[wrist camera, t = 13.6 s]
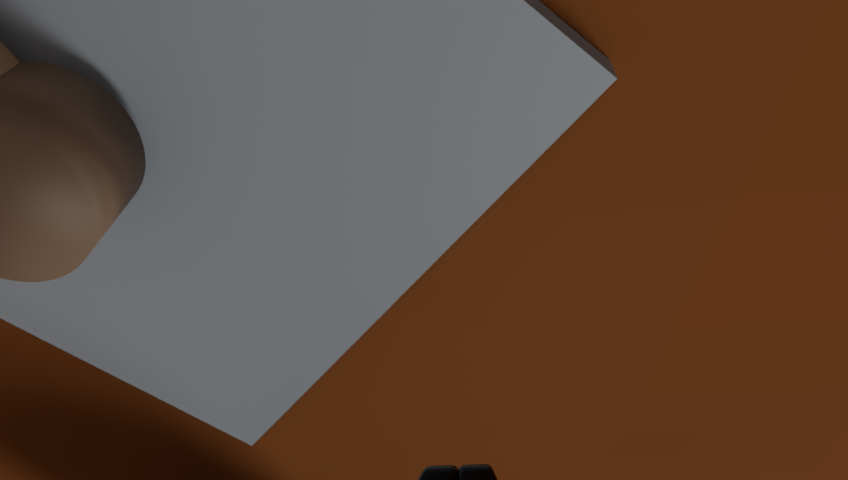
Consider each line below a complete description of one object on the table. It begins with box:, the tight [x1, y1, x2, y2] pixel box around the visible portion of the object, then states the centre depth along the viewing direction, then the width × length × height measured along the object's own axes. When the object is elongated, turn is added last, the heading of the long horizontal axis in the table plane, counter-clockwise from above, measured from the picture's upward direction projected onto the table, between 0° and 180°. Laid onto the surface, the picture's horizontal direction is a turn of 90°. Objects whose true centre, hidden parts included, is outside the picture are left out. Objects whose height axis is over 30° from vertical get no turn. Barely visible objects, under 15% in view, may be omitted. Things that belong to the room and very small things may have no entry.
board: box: [0, 0, 617, 446], centre depth 19 cm, size 18×20×1 cm
